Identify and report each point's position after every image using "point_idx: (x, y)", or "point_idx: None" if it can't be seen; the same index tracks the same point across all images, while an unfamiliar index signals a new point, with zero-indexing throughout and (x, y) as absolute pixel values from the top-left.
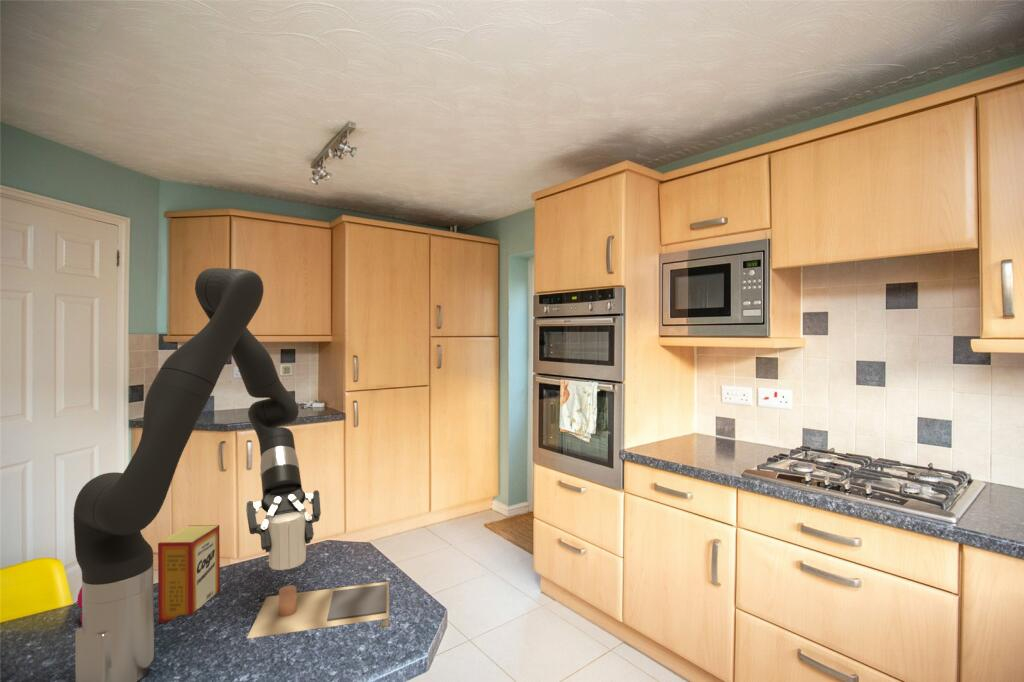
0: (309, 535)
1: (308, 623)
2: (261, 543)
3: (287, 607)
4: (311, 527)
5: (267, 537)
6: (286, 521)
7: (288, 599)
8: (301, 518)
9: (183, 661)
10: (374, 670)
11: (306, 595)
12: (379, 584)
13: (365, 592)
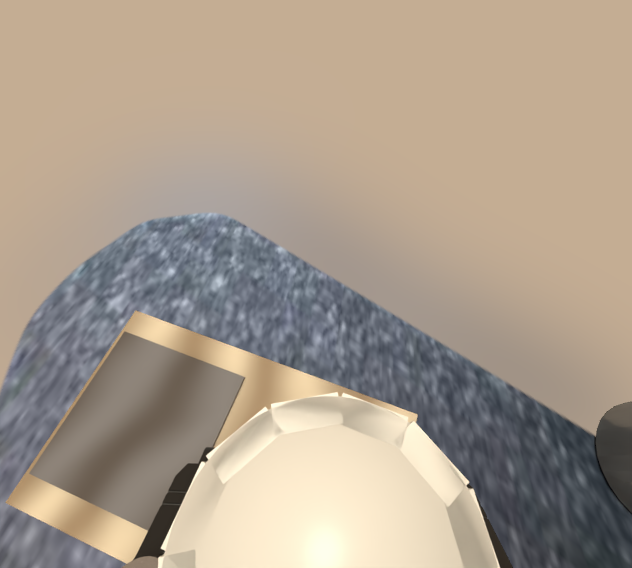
0: (206, 457)
1: (283, 394)
2: None
3: None
4: (162, 520)
5: None
6: (352, 428)
7: None
8: (230, 437)
9: (535, 440)
10: (228, 222)
11: None
12: (39, 500)
13: (104, 459)
